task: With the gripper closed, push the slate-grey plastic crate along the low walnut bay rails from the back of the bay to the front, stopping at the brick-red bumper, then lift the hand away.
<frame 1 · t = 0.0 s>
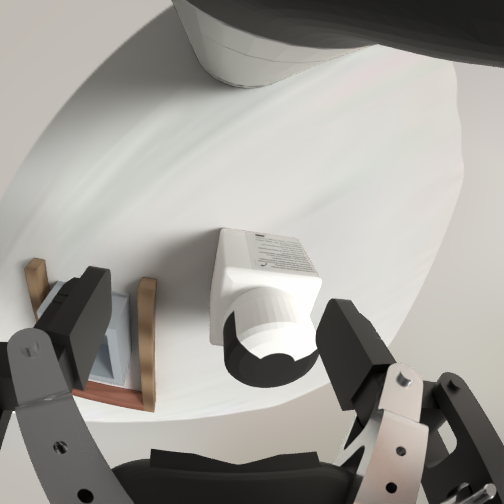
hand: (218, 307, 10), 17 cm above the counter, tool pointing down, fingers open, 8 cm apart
bay: (98, 341, 32), on the counter
crate: (95, 317, 31), on the counter
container: (253, 265, 30), on the counter
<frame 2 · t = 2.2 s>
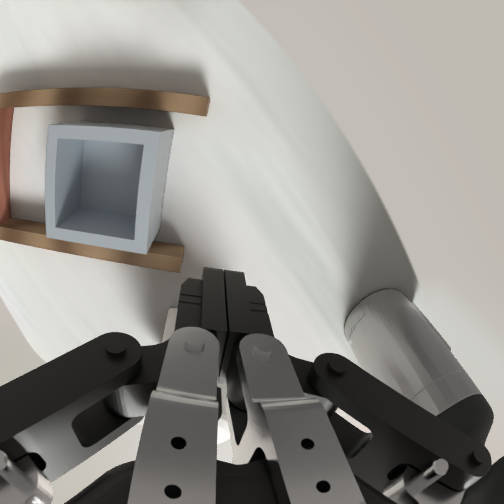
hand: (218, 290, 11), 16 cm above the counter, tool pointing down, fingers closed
bay: (80, 169, 23), on the counter
crate: (119, 172, 24), on the counter
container: (201, 335, 33), on the counter
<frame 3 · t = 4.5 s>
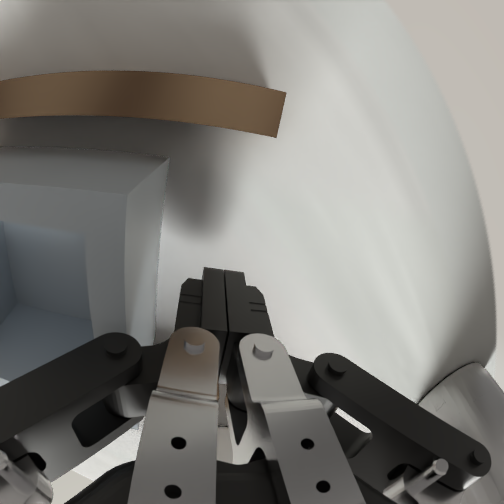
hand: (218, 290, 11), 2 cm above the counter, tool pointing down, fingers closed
bay: (21, 238, 11), on the counter
crate: (70, 244, 12), on the counter, touching gripper
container: (237, 444, 21), on the counter
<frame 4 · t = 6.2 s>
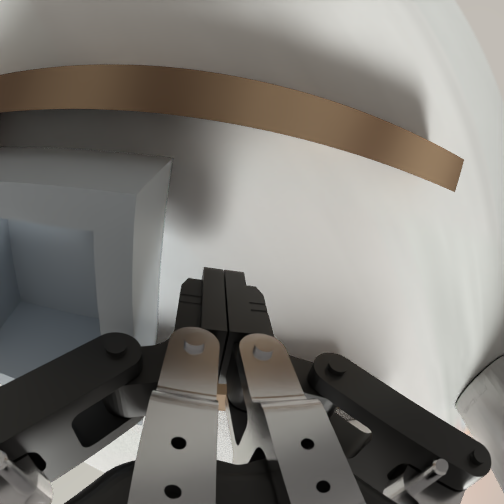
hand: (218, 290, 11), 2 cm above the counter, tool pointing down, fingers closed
bay: (168, 256, 13), on the counter
crate: (74, 242, 12), on the counter, touching gripper
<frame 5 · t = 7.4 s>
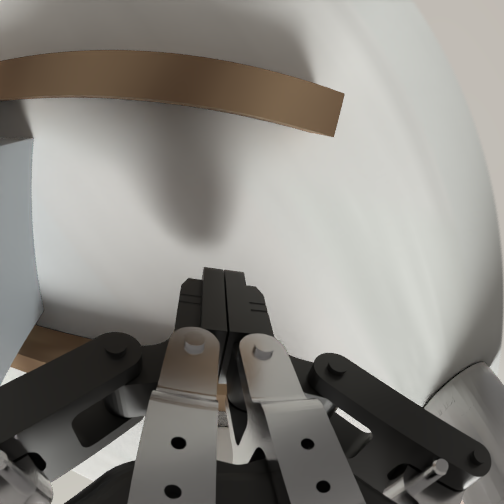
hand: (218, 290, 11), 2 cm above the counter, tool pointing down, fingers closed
bay: (40, 230, 11), on the counter
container: (252, 445, 21), on the counter
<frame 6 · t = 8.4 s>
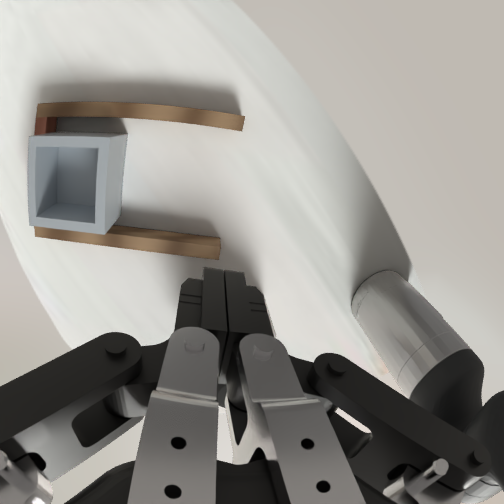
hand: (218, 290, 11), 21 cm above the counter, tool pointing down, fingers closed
bay: (127, 173, 29), on the counter
crate: (87, 172, 28), on the counter
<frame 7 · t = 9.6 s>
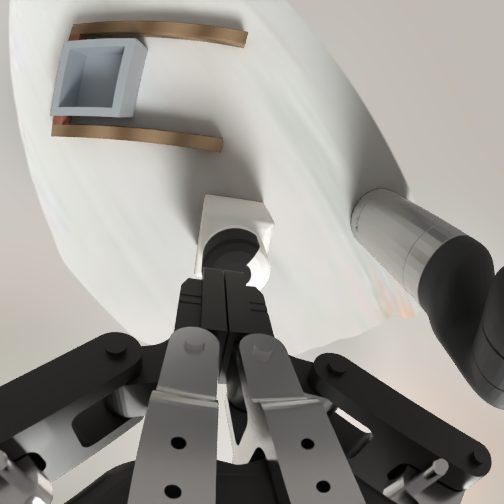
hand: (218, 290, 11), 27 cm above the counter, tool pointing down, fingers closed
bay: (144, 80, 29), on the counter
crate: (107, 81, 29), on the counter
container: (229, 225, 39), on the counter
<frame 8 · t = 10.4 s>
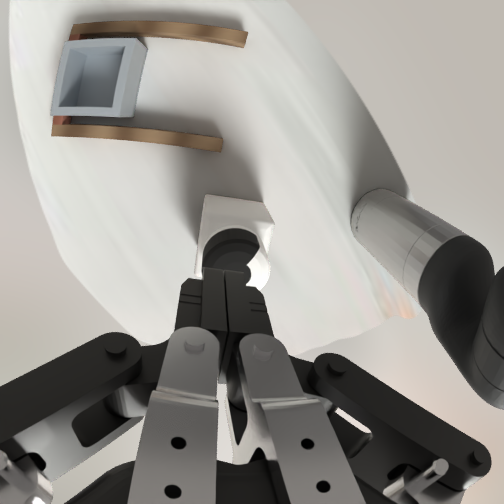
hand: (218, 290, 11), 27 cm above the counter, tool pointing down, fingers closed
bay: (144, 80, 29), on the counter
crate: (107, 81, 29), on the counter
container: (230, 225, 39), on the counter
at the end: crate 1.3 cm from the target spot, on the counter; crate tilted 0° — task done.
